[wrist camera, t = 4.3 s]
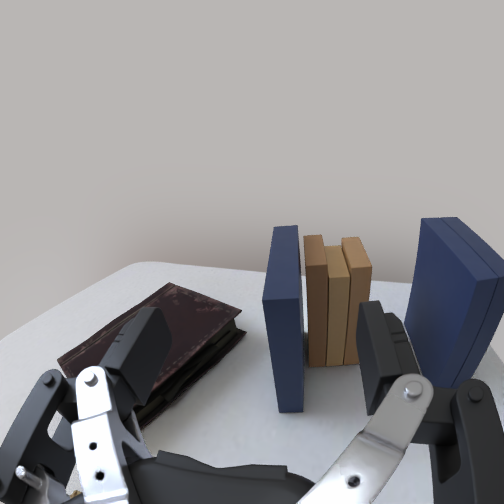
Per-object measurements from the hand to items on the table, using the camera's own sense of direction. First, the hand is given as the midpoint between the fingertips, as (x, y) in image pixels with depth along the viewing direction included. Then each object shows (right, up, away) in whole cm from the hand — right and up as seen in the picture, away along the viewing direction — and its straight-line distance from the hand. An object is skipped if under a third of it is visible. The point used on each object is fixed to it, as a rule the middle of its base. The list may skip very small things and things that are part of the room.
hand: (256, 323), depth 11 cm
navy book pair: (+25, -11, +20) cm, 34 cm away
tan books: (+11, -10, +26) cm, 30 cm away
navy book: (+5, -12, +24) cm, 27 cm away
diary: (-15, -14, +28) cm, 35 cm away
